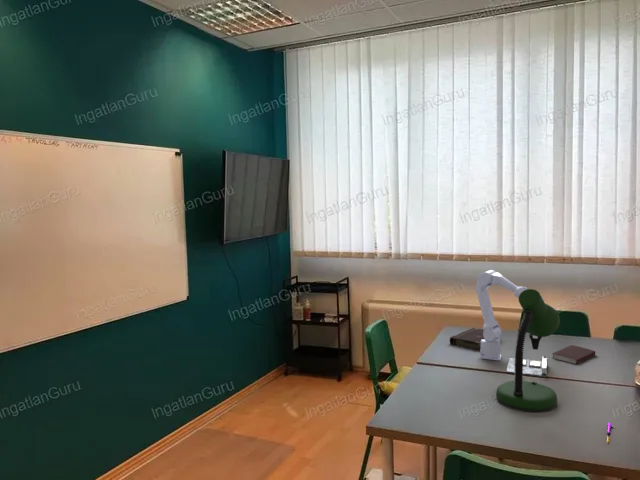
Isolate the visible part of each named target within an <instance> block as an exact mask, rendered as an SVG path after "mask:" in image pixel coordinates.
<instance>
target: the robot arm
mask: <svg viewBox="0 0 640 480" xmlns="http://www.w3.org/2000/svg"><path fill="white" fill-rule="evenodd" d="M476 279H477V281H476V286H475V290H476V291H475V292H476V295H477V299H478V303H479V307H480V311H481V315H482V317H483V322H484V323H483V326H482V329H484V332H483V336H484V338H485V339H481V350H479V351H480V352H479V353H480V360H481V359H482V360H490V361H501V359H502V354H501V339H500V338H501V337H502V335H503V330H502V327H500V325H499V322H498V321H497V320H496V318H495V315H494V310H493V307H492V306H493V305H492V302H491V300H490V299H491V298H490V295H489V294H490V293H489V291H488V289H490V287H491V285H500V286H503V288H506V289H507V290H509V291H511V292H513V293H514V296H515V297H516V298H518V299H519V295H520V294H521V292H522V291H524V290H526V289H528V287H526V286H518V285H516V284H515V283H513V282H512V280H509V279H508V278H507V277H505V276H503V274H502V273H500V272H498V271H496V270H494V269H488V270H487V271H484V272H481V273H480V274H479V275H478V276H477V278H476ZM541 297H542V299H543V301H544V302H545V299H544V297H543V296H541ZM528 336H529V338H530V341H531V346H532V347H531V348H532V350H535V351H536V350H539V346H540V341H541V339H542V338H543V337H537V336H534V335H532V334H530V333H529V332H528Z"/></svg>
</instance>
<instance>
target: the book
mask: <svg viewBox="0 0 640 480" xmlns="http://www.w3.org/2000/svg"><path fill="white" fill-rule="evenodd" d="M595 356H596V351H595V350H592V349H589V348H587V347H583V346H578V345H575V344H574V345H573V344H572V345H568V346H566V347H563V348H562V349H560V350H557V351H555V352H553V353H552V357H551V359H554V360H560V361H563V362H566V363H571V364H575V365H577V364H580V363H582V362H584V361H586V360H588V359H591V358H593V357H595ZM590 357H591V358H590Z"/></svg>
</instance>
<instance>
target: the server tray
mask: <svg viewBox="0 0 640 480" xmlns="http://www.w3.org/2000/svg"><path fill="white" fill-rule="evenodd" d="M547 369H548V368H547ZM547 369H546V373H541V372H542V362H541V360H536V359H535V360H534V359H533V360H532V359H524V358H523V376H528V377H539V378H547V376H548V375H547V374H548V370H547ZM514 370H515V357H509V358H508V363H507V367H506V374H513V375H514V374H515V373H514V372H515V371H514Z"/></svg>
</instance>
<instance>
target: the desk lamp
mask: <svg viewBox="0 0 640 480" xmlns="http://www.w3.org/2000/svg"><path fill="white" fill-rule="evenodd" d="M542 297H543V296H542V295H541V293H540V292H539V291H538V290H537V289H533V288H527V289H526V290H524V291H522V292H521V294H520V295H519V298H518V303H519V305H520V307H521V308H522V311H523V317H522V319H521V322H520V325H519V327H518V331H517V334H516V342H515V346H514V347H515V348H514V358H515V370H514V371H515V372H514V373H515V374H513V375H514V380H511V381H507V382H506V381H505V382H503V383H501V384H500V385H498V387H497V389H496V391H495V394H496V395H495V399H496V401H497V402H498V403H499V404H501V405H503V406H505V407H507V408H510V409H513V410H516V411H520V412H526V413H536V414H537V413H546V412H550V411H552V410H555V408H556V407H557V406H558V397H557V394H556V392H555V391H554V390H553V388H550V387H548V386H547V385H544V384H541V383H538V382H536V381H528V380H524V378H523V377H524V375H523V359H524V349H525V348H524V347H525V346H524V345H525V342H526V341H525V340H526V336H527V333H528V334H529V333H530V334H532V335H534V336H537V337H542V338H546V337H549V336H551V335H553V334H555V332H557V330H558V329H559V327H560V323H561V319H560V315H559V314H558V312H557V310H556V309H555V308H554V307H552V306H551V305H549V304H548V303H545V300H544V301H543V299H544V298H543V299H542Z"/></svg>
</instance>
